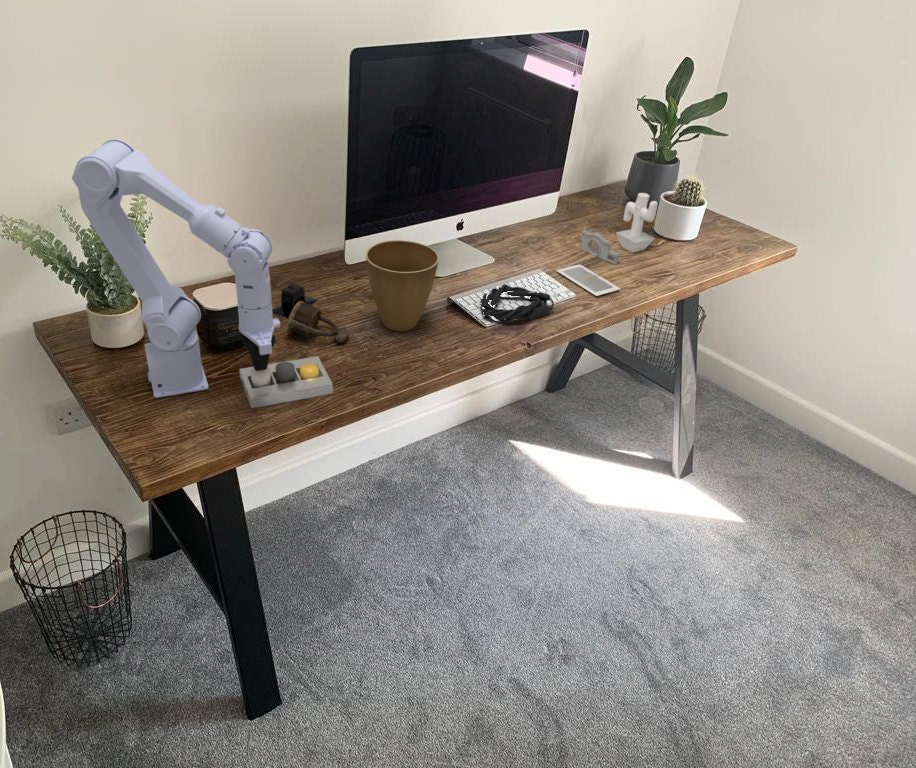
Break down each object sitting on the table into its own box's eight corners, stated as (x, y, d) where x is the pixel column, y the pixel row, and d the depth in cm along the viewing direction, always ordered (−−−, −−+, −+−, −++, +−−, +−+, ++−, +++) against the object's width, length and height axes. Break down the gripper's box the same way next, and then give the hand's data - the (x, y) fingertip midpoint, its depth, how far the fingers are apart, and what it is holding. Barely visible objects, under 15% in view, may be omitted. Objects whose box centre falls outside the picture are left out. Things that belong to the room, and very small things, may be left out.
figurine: (630, 239, 219) (640, 185, 211) (655, 252, 213) (667, 198, 204) (610, 243, 215) (620, 189, 207) (635, 257, 209) (646, 202, 201)
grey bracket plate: (618, 264, 205) (622, 242, 202) (614, 266, 204) (618, 244, 201) (582, 247, 212) (586, 226, 209) (578, 249, 211) (581, 228, 208)
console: (251, 408, 144) (250, 398, 142) (240, 378, 151) (239, 368, 150) (332, 393, 149) (332, 383, 148) (318, 365, 157) (318, 356, 155)
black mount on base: (297, 291, 182) (296, 272, 180) (325, 300, 180) (325, 281, 177) (260, 315, 172) (259, 295, 170) (290, 325, 170) (289, 305, 167)
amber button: (303, 388, 150) (302, 374, 148) (298, 378, 152) (298, 365, 151) (321, 384, 151) (320, 371, 149) (316, 375, 154) (315, 362, 152)
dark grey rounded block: (278, 386, 148) (277, 373, 146) (274, 377, 150) (273, 363, 148) (297, 383, 149) (296, 370, 147) (292, 374, 151) (291, 360, 150)
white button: (254, 391, 146) (252, 377, 144) (250, 381, 148) (249, 367, 147) (272, 387, 147) (271, 374, 145) (268, 378, 150) (267, 364, 148)
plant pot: (353, 330, 169) (352, 261, 160) (384, 301, 180) (385, 234, 171) (418, 347, 165) (421, 277, 156) (445, 316, 176) (450, 249, 167)
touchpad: (595, 300, 189) (597, 291, 187) (555, 274, 199) (556, 266, 198) (620, 293, 192) (621, 284, 191) (579, 268, 203) (580, 260, 201)
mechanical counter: (310, 293, 170) (276, 300, 162) (357, 307, 164) (323, 315, 156) (308, 326, 172) (275, 335, 164) (354, 341, 166) (321, 350, 158)
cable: (501, 333, 172) (503, 315, 170) (461, 306, 181) (462, 289, 179) (559, 313, 182) (561, 296, 179) (518, 289, 190) (520, 272, 188)
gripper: (287, 318, 134) (291, 385, 142) (268, 280, 145) (273, 344, 153) (245, 324, 132) (251, 392, 139) (228, 285, 143) (235, 350, 150)
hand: (260, 368), depth 146 cm, fingers closed
